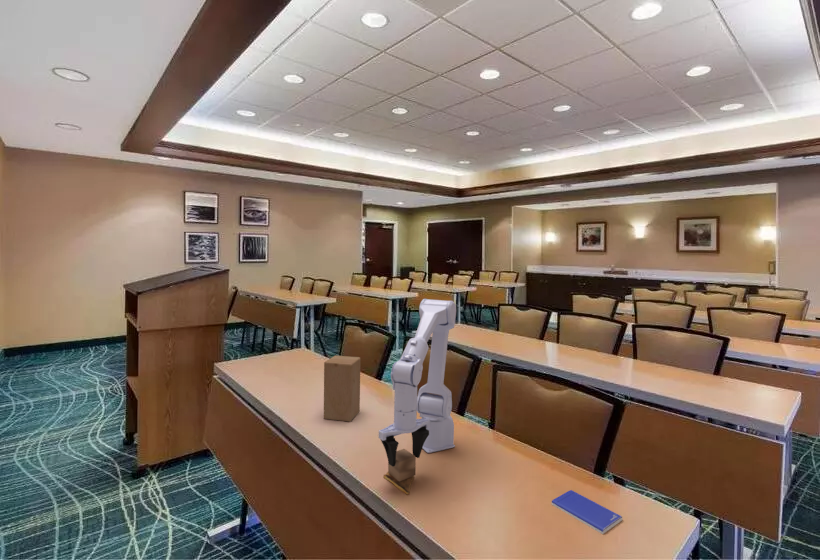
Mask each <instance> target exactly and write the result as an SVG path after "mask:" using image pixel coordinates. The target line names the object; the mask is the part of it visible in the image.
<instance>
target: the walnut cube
mask: <svg viewBox="0 0 820 560" xmlns="http://www.w3.org/2000/svg"><path fill="white" fill-rule="evenodd" d="M416 459H417V457H416V456H414V455H413V453H412V452H410V451H408V450H407V449H405V448H402V449H399V450H397V451H396V463H395V466H391V465H390V464H389V463H387V465H388V466H387V467H388V470H387V472H388V473H389V474H390V475H392V476H393V477H394V478H395V479H397V480H398V481H399V482H400V481H402V480H405V479H407V478H410V477H412V476H414V477H415V476H416V468H417V467H416V463H417V462H416Z"/></svg>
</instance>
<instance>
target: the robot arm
mask: <svg viewBox="0 0 820 560" xmlns="http://www.w3.org/2000/svg"><path fill="white" fill-rule="evenodd" d="M418 306H419V309H418V312H419V313H418V314H419V319H420V321H419V323H418V326H417V328H416V329H417V330H416V332H415V335H414V337H411V338H409V340H408V341H407V343H406V346H405V348H404V350H403V352H402V354H401V356H400V358H399V360H398V361H395V362H394V363H393V364H392V366H391V367H392V368H391V372H390V379H391V383H392V390H394V401H393V403H394V407H393V409H394V410H393V423H391V424H389V425H388V426H386V427H384V428H382V429H378V439H380V442H381V443H382V445H383V447H384V450H385V454H386V457H387V462H388V463H389V464H390V465H391V466H395V463H396V451H398V450H397V449H398V447H399V444H400V443H399V441H397V440H396V436H399V435H403V434H411V439H412V441H411V442H412V447H411V449H412V454H413V455H414V456H416V459H420V457H421V453H422V450H424V452H426V453H427V454H431V453H435V452H439V451H444V450H448V449H452V448H455V447H456V445H455V444H454V443H455V441H454V439H455V437H454V435H455V424H454V420H453V417H452V415H451V413H452V408H453V401H452V400H453V399H452V397H453V396H452V391H451V390H450V389H449V388H448V387H447V386H446V385H445V384H444V381H445V380H444V379H445V372H446V362H447V354H448V352H447V350H448V341H449V334H450V330H452V329H454V328H455V325H456V317H457V307H456V303H455V302H454V300H445V299H444V300H443V299H442V300H441V299H428V298H423V299H422V300H421V301H420V303H419V305H418ZM430 337H431V345H430V348H429V345H428V342H429V340H430ZM429 349H430V355H429V364H428V373H427V374H428V375H427V382H426V383H425V384H424V385H421V387H420V388H419V390H418V385H419V383H420V382H421V380H422V374H423V369H424V367H423V366H424V365H423V363H424V361H425V359H426V356H427V354H428V351H429ZM417 413H418V414H419V417H420V418H417V416H418V415H417ZM388 463H387V464H388Z"/></svg>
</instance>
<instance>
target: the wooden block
mask: <svg viewBox="0 0 820 560" xmlns="http://www.w3.org/2000/svg"><path fill="white" fill-rule="evenodd" d="M323 370H324V371H323V419H324V420H332V421H341V422H342V421H343V422H348V423H349V422H352V420H353V419H354V418H355V417H356V415H358V414H359V412H360V410H361V409H360V408H361V406H360V405H361V357H359V356H346V355H334V356H332V357H331V358H329V359H327V360H325V361H324V362H323Z"/></svg>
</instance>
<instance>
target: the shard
mask: <svg viewBox="0 0 820 560" xmlns="http://www.w3.org/2000/svg"><path fill="white" fill-rule="evenodd" d="M414 477H415V476H412V477H410V478H407V479H405V480H402V481H400V482H399V481H398V480H397V479H395V478H394V477H393V476H392V475H390V474H389V473H388V471H387V472H386V473H384V474H383V478H384V480H387V481H388V482H390V483H392V485H393V486H395V487H396V488H397V489H398V490H399V491H400V492H403V493H405V494H406V495H409V494H410V490H411V485H412V483H413V480H414Z"/></svg>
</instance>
